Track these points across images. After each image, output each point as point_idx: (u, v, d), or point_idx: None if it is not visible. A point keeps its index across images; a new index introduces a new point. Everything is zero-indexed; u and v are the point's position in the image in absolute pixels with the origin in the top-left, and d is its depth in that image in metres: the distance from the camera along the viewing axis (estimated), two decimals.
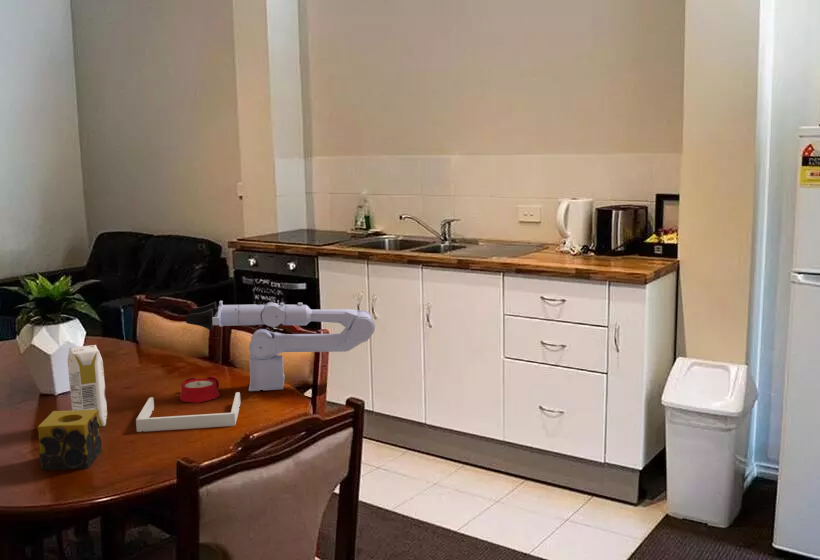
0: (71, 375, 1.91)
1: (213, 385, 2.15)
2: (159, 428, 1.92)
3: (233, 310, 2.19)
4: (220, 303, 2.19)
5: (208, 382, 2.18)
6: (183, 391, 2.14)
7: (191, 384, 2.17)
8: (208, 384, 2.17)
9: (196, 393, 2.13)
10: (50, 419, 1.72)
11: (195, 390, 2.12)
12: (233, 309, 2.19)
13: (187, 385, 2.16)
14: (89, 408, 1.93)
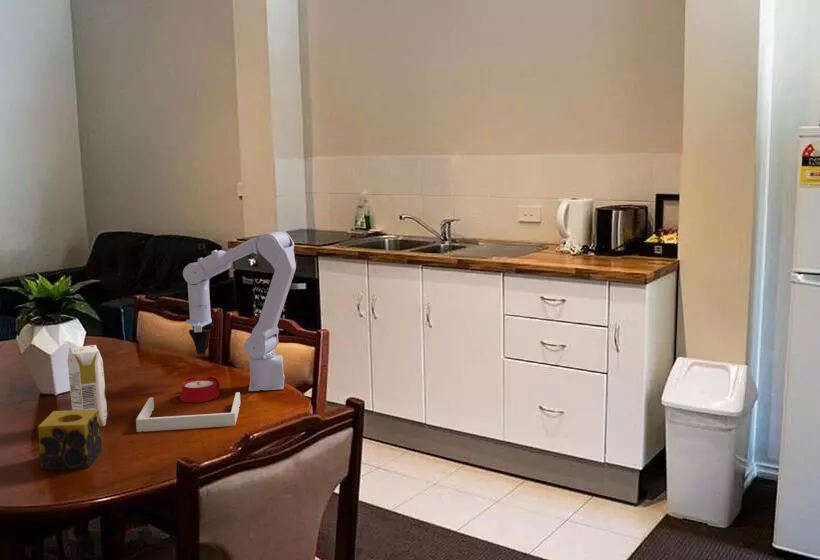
0: (71, 375, 1.91)
1: (213, 385, 2.15)
2: (159, 428, 1.92)
3: (192, 310, 2.24)
4: (187, 322, 2.25)
5: (209, 382, 2.19)
6: (183, 391, 2.14)
7: (191, 384, 2.17)
8: (208, 384, 2.17)
9: (196, 393, 2.13)
10: (50, 419, 1.72)
11: (195, 390, 2.12)
12: (191, 310, 2.24)
13: (187, 385, 2.16)
14: (89, 408, 1.93)
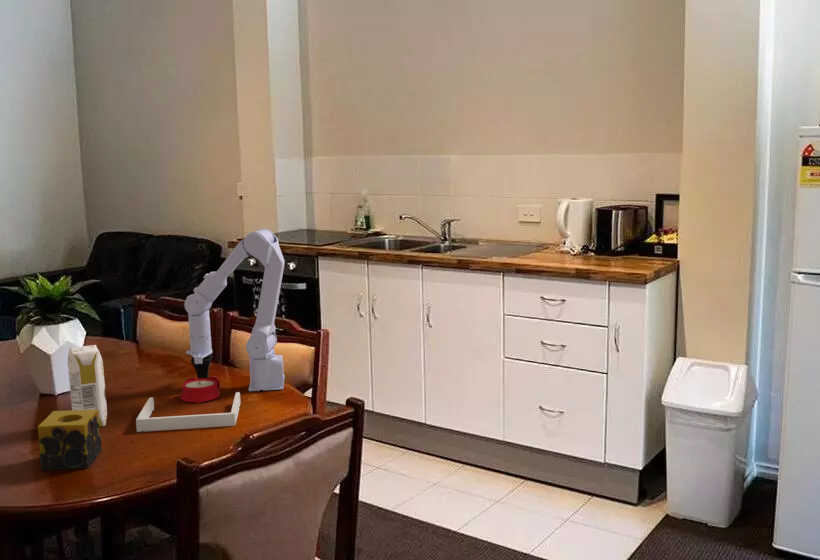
0: (71, 375, 1.91)
1: (214, 385, 2.15)
2: (159, 428, 1.92)
3: (192, 341, 2.23)
4: (187, 353, 2.24)
5: (209, 382, 2.18)
6: (184, 391, 2.14)
7: (192, 384, 2.17)
8: (209, 384, 2.17)
9: (197, 393, 2.12)
10: (50, 419, 1.72)
11: (196, 390, 2.12)
12: (191, 341, 2.23)
13: (188, 385, 2.16)
14: (89, 408, 1.93)
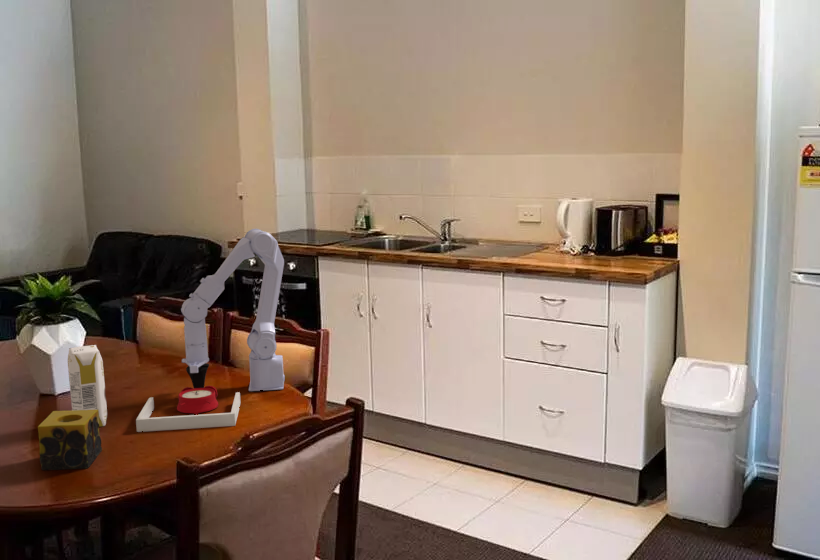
0: (71, 375, 1.91)
1: (212, 395, 2.06)
2: (159, 428, 1.92)
3: (188, 349, 2.14)
4: (183, 361, 2.15)
5: (207, 392, 2.09)
6: (181, 401, 2.05)
7: (189, 394, 2.08)
8: (207, 394, 2.08)
9: (194, 403, 2.03)
10: (50, 419, 1.72)
11: (194, 400, 2.03)
12: (187, 349, 2.14)
13: (185, 395, 2.07)
14: (89, 408, 1.93)
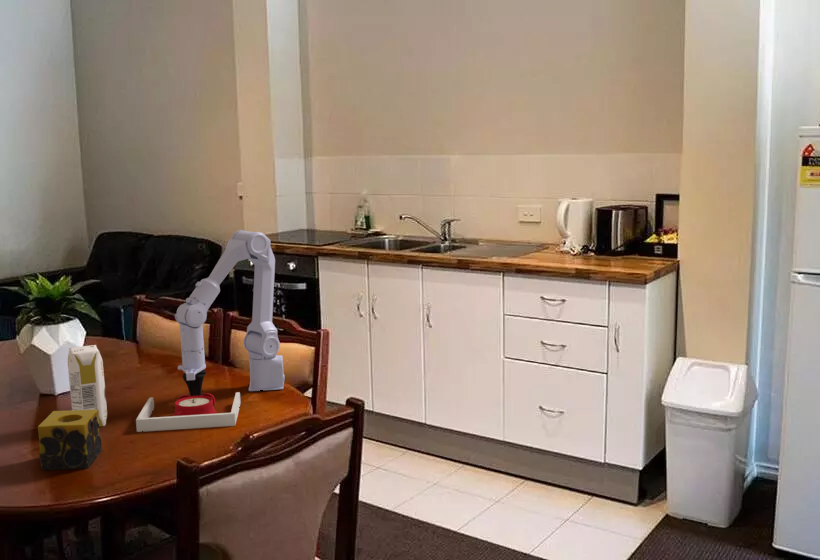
0: (71, 375, 1.91)
1: (210, 403, 2.00)
2: (159, 428, 1.92)
3: (184, 356, 2.07)
4: (179, 368, 2.08)
5: (204, 400, 2.03)
6: (177, 410, 1.98)
7: (186, 402, 2.01)
8: (204, 402, 2.01)
9: (191, 412, 1.97)
10: (50, 419, 1.72)
11: (191, 408, 1.97)
12: (183, 356, 2.07)
13: (181, 403, 2.00)
14: (89, 408, 1.93)
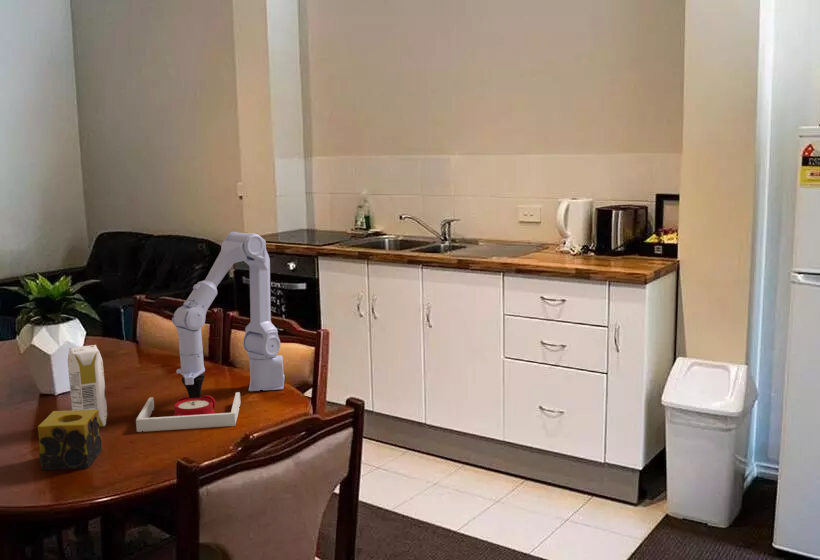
0: (71, 375, 1.91)
1: (209, 405, 1.98)
2: (159, 428, 1.92)
3: (183, 359, 2.04)
4: (178, 372, 2.06)
5: (204, 402, 2.01)
6: (177, 412, 1.96)
7: (185, 404, 1.99)
8: (204, 404, 1.99)
9: (191, 414, 1.95)
10: (50, 419, 1.72)
11: (190, 411, 1.95)
12: (182, 360, 2.04)
13: (181, 405, 1.99)
14: (89, 408, 1.93)
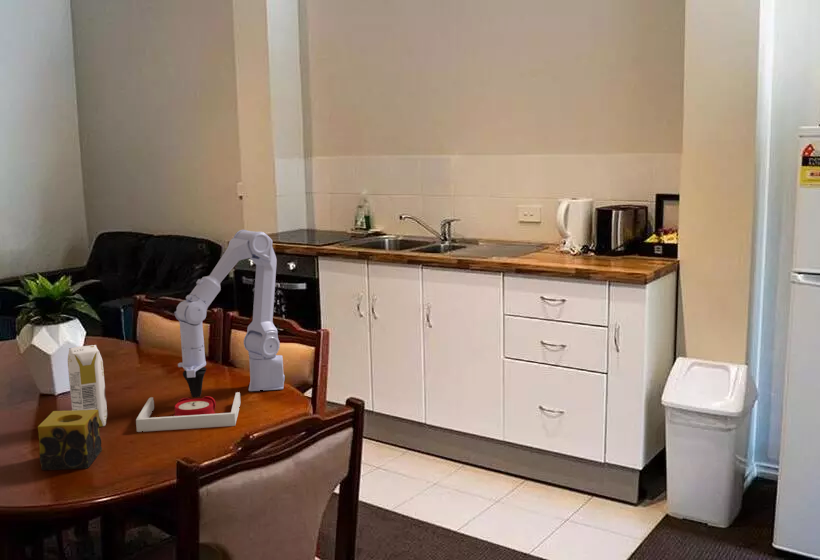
0: (71, 375, 1.91)
1: (210, 406, 1.98)
2: (159, 428, 1.92)
3: (185, 353, 2.07)
4: (179, 365, 2.08)
5: (204, 403, 2.01)
6: (177, 413, 1.96)
7: (185, 405, 2.00)
8: (204, 405, 1.99)
9: None
10: (50, 419, 1.72)
11: (190, 412, 1.95)
12: (183, 353, 2.07)
13: (181, 406, 1.99)
14: (89, 408, 1.93)
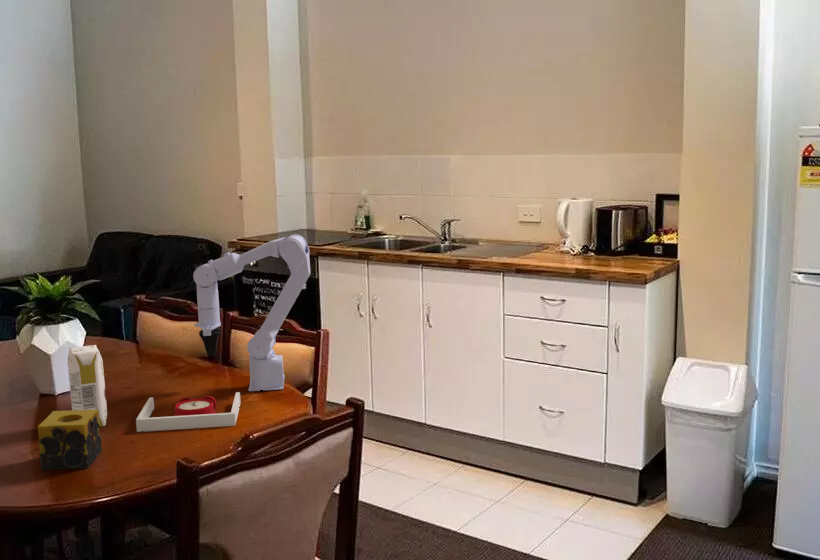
0: (71, 375, 1.91)
1: (210, 406, 1.98)
2: (159, 428, 1.92)
3: (201, 313, 2.19)
4: (195, 325, 2.21)
5: (205, 403, 2.01)
6: (177, 413, 1.96)
7: (186, 405, 2.00)
8: (205, 405, 1.99)
9: None
10: (50, 419, 1.72)
11: (191, 412, 1.95)
12: (200, 314, 2.20)
13: (182, 406, 1.99)
14: (89, 408, 1.93)
